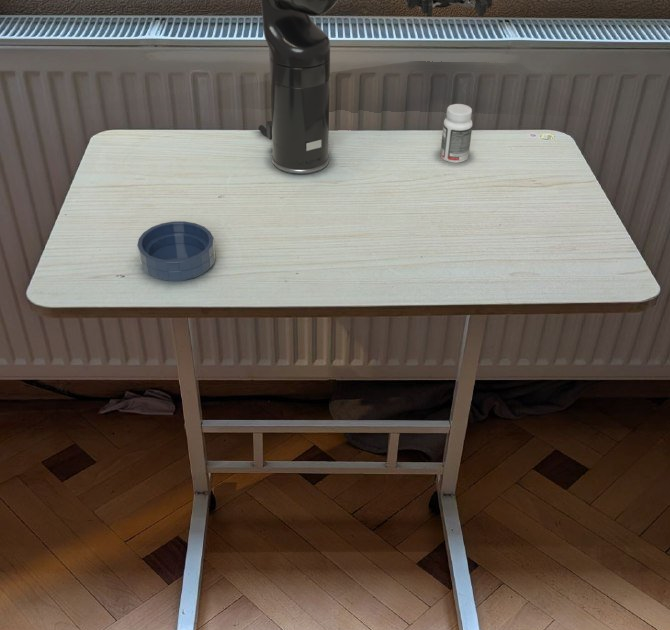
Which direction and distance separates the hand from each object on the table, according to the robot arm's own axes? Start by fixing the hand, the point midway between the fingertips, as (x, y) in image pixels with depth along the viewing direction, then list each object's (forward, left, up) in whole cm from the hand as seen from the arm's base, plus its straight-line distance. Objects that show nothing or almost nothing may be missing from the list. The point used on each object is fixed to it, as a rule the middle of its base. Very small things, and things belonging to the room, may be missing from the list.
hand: (456, 9), depth 134 cm
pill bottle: (+10, -3, -20) cm, 23 cm away
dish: (+25, -54, -20) cm, 63 cm away
